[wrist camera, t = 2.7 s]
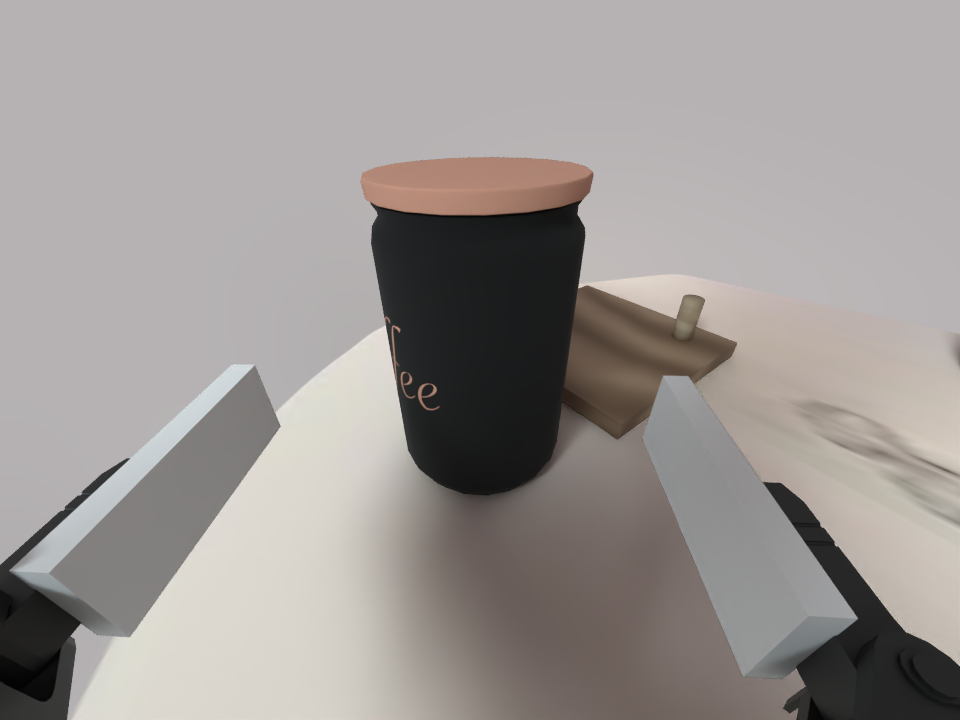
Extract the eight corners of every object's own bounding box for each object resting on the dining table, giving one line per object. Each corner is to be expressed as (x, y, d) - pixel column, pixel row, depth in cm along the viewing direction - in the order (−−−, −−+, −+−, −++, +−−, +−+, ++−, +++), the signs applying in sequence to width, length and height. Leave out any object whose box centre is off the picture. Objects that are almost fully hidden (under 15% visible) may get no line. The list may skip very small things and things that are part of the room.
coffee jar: (414, 398, 32) (379, 159, 21) (538, 391, 32) (560, 155, 22) (401, 510, 23) (329, 193, 13) (572, 498, 23) (635, 184, 13)
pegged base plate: (585, 296, 48) (591, 254, 45) (731, 355, 36) (753, 304, 33) (473, 340, 39) (472, 292, 36) (617, 439, 27) (633, 379, 24)
